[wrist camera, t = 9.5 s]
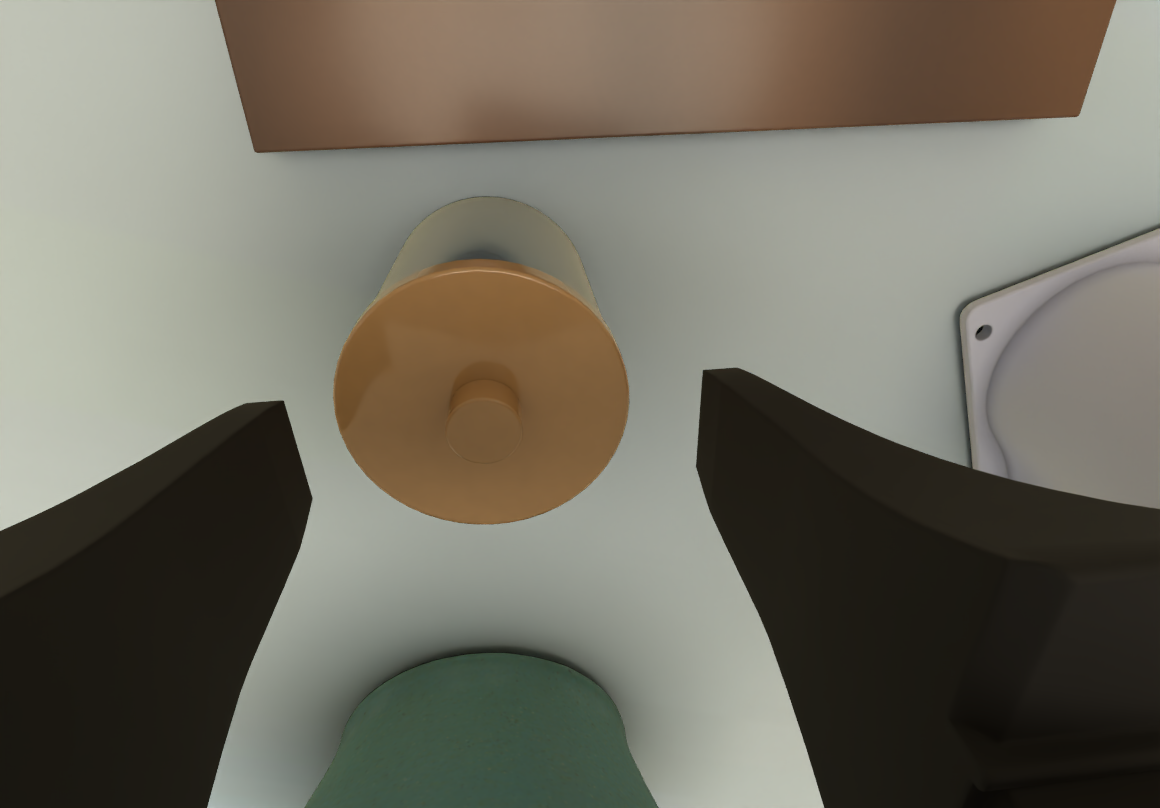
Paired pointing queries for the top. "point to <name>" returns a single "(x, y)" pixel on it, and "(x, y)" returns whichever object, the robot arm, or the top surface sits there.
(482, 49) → the cutting board
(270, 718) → the top surface
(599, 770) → the flower pot
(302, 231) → the top surface
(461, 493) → the sugar pot
